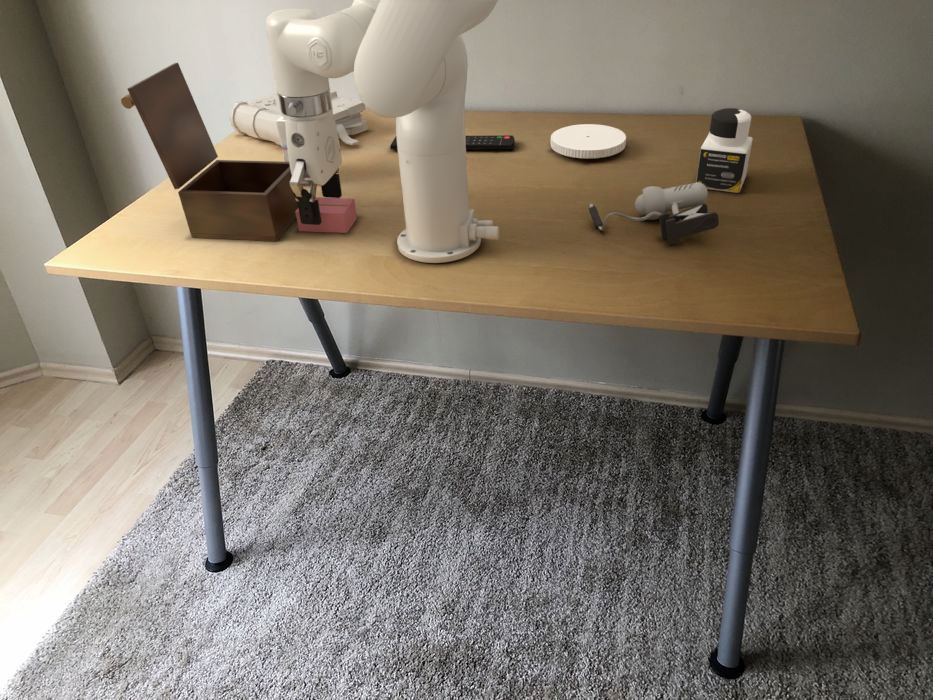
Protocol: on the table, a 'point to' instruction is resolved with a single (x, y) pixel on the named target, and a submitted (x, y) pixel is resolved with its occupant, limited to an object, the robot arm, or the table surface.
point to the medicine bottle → (726, 151)
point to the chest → (240, 201)
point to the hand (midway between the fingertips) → (322, 209)
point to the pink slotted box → (332, 215)
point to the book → (266, 111)
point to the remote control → (482, 142)
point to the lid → (172, 123)
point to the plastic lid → (588, 141)
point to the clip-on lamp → (671, 199)
